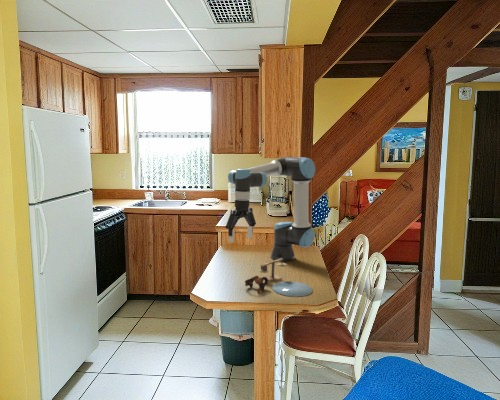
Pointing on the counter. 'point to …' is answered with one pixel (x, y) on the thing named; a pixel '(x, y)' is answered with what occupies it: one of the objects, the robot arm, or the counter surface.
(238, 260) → the counter surface
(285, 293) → the plate
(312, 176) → the robot arm
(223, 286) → the counter surface
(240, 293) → the counter surface
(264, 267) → the balance
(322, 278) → the counter surface
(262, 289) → the pottery mug
